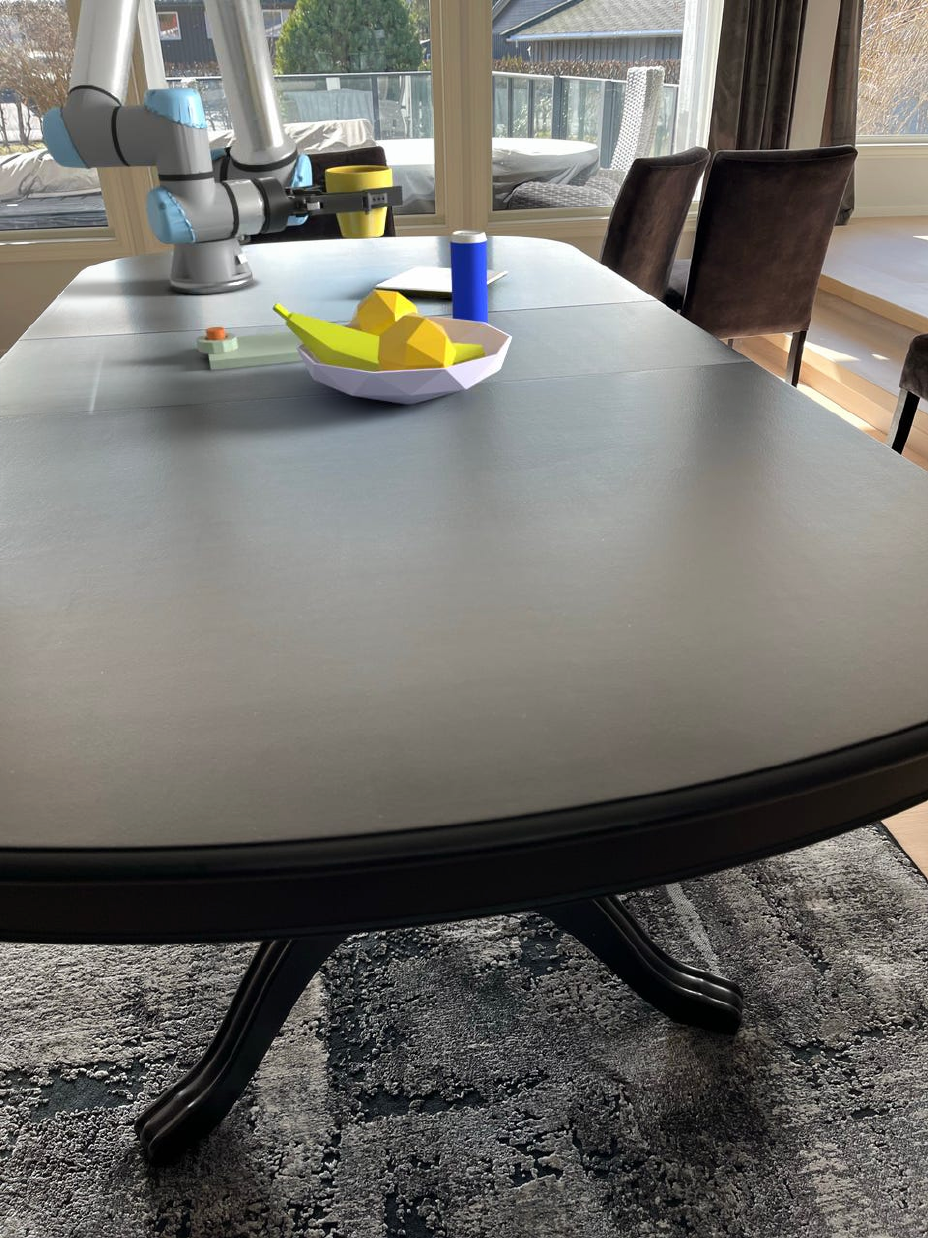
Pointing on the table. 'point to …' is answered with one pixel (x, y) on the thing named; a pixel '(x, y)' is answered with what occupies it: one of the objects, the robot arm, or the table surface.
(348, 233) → the flower pot
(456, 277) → the beverage can
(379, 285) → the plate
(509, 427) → the table surface
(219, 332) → the button
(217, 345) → the pale green flat block
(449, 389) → the fruit bowl
